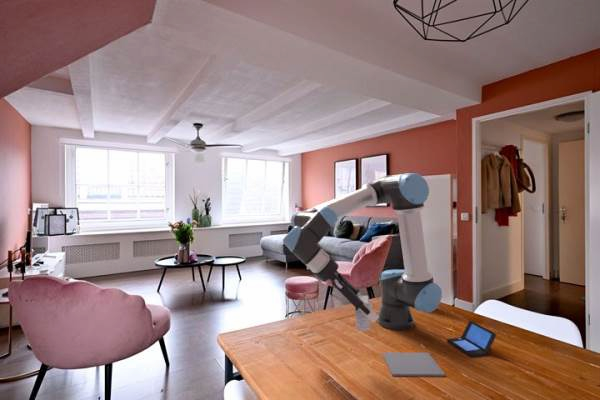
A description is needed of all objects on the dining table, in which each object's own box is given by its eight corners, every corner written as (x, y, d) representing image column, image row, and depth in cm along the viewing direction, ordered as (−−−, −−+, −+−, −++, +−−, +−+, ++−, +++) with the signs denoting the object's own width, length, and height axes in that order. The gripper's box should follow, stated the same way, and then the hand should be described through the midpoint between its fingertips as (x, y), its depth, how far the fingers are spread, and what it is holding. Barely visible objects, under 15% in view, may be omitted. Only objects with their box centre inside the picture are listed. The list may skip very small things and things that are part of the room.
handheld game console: (445, 341, 116) (445, 322, 116) (470, 338, 118) (470, 319, 118) (470, 358, 104) (470, 337, 104) (497, 355, 106) (497, 333, 106)
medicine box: (370, 331, 95) (369, 303, 95) (355, 330, 96) (355, 302, 96) (369, 321, 103) (369, 295, 102) (356, 320, 103) (355, 295, 103)
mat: (382, 354, 107) (382, 352, 107) (428, 354, 106) (428, 352, 106) (392, 375, 94) (392, 373, 94) (444, 376, 93) (444, 374, 93)
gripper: (314, 266, 110) (359, 310, 110) (315, 282, 89) (371, 337, 89) (328, 251, 110) (374, 295, 109) (332, 264, 89) (389, 318, 88)
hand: (372, 314), depth 99 cm, fingers closed on medicine box, 8 cm apart
